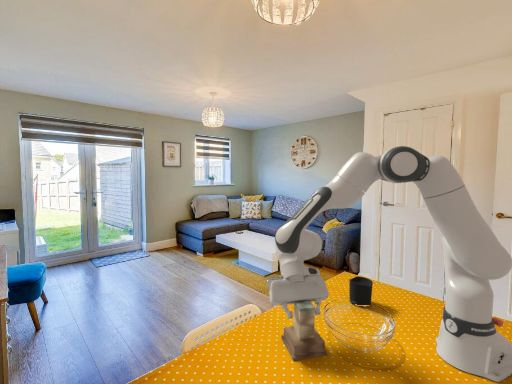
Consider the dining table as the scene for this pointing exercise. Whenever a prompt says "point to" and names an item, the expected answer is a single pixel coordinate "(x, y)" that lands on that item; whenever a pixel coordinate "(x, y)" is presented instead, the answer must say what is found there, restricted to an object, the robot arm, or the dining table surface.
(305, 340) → the plinth
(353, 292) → the pen holder
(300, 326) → the grey rectangular block
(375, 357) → the dining table surface
